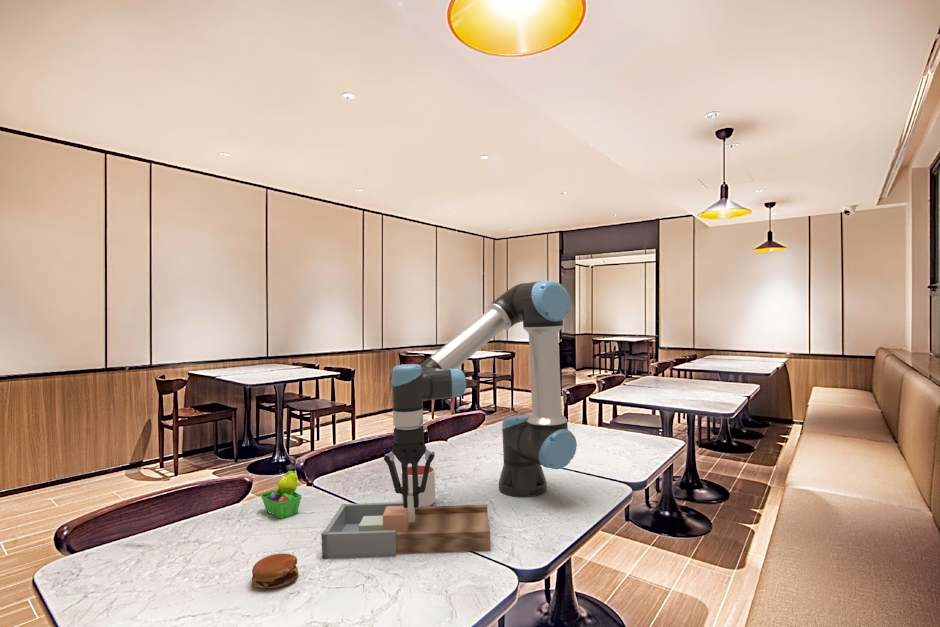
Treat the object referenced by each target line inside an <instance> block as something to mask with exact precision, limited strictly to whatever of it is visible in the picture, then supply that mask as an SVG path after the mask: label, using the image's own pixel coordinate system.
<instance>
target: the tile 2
mask: <svg viewBox="0 0 940 627" xmlns="http://www.w3.org/2000/svg"><path fill="white" fill-rule="evenodd" d="M409 524H410V522H408V508H404V506H387V507H386V509H385V511H384V514H383V530H396V531H408V528H409Z"/></svg>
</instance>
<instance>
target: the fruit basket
mask: <svg viewBox="0 0 940 627" xmlns="http://www.w3.org/2000/svg"><path fill="white" fill-rule="evenodd" d="M298 477H299V476H298V475H297V472H296V471H293V470H288V471H287V472H286V474H285V475H284V476H283V477H281V479H279V480H278V482H277V487H278V489H273V491H269V492H265V493H262V494H260V497H261V498H260V499H262V502H263V505H264V507H265V508H264V509H265V511H266V510H267V511H269V512H271V513H273V514H274V515H276V516H278V517H279V518H278V517H277V518H278V519H280V518H282V519H285V518H288V517H291V516H293V515H297V514H298V512H299V507H300V503H301V500H302V497H303V495H302V494H299V493H298V492H296V490H297V489H298V479H299V478H298ZM296 513H297V514H296ZM274 515H273V516H274ZM290 515H291V516H290ZM276 516H275V517H276ZM287 516H288V517H287ZM284 517H285V518H284Z"/></svg>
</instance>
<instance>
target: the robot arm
mask: <svg viewBox="0 0 940 627" xmlns="http://www.w3.org/2000/svg"><path fill="white" fill-rule="evenodd" d="M570 310H571V298H570V295H569V292H568V291H567V289H566V288H565V287H564V286H563V284H561V283H559V282H557V281H555V280H539V281H538V280H537V281H532V282H522V283H518V284H516V285H514V286H512V287H510V288H509V289H507V290H506V291H505V292H504V293H502V294H501V295H499V297H497V298H496V299H495V300H493V301H492V302H491V303H490V304H488V306H487V310H486V311H485V312H484V313H482V314H481V315H480V316H479V317H478V318H477V319H475V320H474V321H473V322H472V323H470V324H469V325H468V326H467V327H465V328H464V329H463V330H462V331H460V332H459V333H458V334H456V336H454V337H453V338H452V339H450V340H449V341H448V342H446V343H445V344H444V345H443V346H442V347H441V348H439V349H438V350H437V351H435V353H433V354H432V355H431V356H430V357H428V358H426V359H425V360H424V361H423V362H421V363H420V364H417V363H410V364H409V363H408V364H397V365H395V366H393V368H392V370H391V371H392V372H391V391H392V392H391V393H392V421H393V422H392V423H393V426H394V428H393V443H394V444H393V447H392V449H391V451H390V452H389V453H387V452H386V453H385V454H384V456H383V460H384V462H385V463H386V464H387V466H388V470H389V473H390V477H391V482H392V485H393V488H394V491H395V493H396V494H402V495H403V506H404V508H408V522H414V520H415V508H417V507H418V505H419V493H423V492H424V491H425V488H426V483H427V478H428V474H429V469H430V467H431V464H432V462H433V460H434V459H435V457H436V453H435V452H434V451H431V450H428V449H427V446H426V444H425V434H424V433H425V431H424V430H425V429H424V426H423V424H424V402H425V401H426V402H427V401H432V400H433V401H435V400H441V399H449V398H451V399H453V398H456V397H462V395H464V394H465V392H466V389H467V379H466V376H465V373H464V372H463V370H462V369H460V368H459V367H460V366H461V365H463V364H464V363H465V362H466V361H467V360H468V359H469V358H471V357H472V356H473V355H474V354H475V353H477V352H478V351H479V350H480V349H482V348H483V347H484V346H485V345H486V344H487V343H489V342H490V341H491V340H492V339H494V338H495V337H496V336H497V335H499V334H500V333H501V332H502V331H503V330H507V331H508V330H509V329H510V328H512V327H513V326H515V325H516V324H519V323H522V325H523V326H522V328H523V329H524V331H526V332H527V333H528V347H529V370H530V392H531V413H532V414H518V415H513V416H507V417H505V418H504V419H502V427H501V431H502V449H503V450H502V453H503V454H502V456H503V466H502V469H501V473H500V476H499V480H498V490H499V492H501V493H502V494H504V495H506V496H507V495H508V496H511V497H521V498H522V497H525V498H526V497H535V496H539V495H542V494H544V493H546V491H547V490H548V486H547V485H548V482H547V479H546V476H545V474H544V470H543V468H542V467H544V468H547V469H551V470H559V469H563V468H565V467H567V466H568V465H569V464H570V463H571V461H572V460H573V459H574V457H575V455H576V452H577V438H576V436H575V435H574V433H573V432H572V431H571V430H569V429H568V428H569V427H568V426H569V424H568V419H567V418H566V416H564V415H563V413H562V410H563V409H562V391H561V368H560V366H561V365H560V363H561V362H560V347H559V344H560V343H559V342H560V341H559V332H560V331H561V329H563V327H564V319H565V318H566V317H567V316H568V313H570ZM423 456H425V457H424V459H425V461H426V462H425V464H424V466H425V468H424V473H423V478H422V483H421V486H420V487H419V484H418V466H419V462H420V460H421V459H422V457H423ZM395 458H396V459H397V460H398V461H399V462H400V463H401V470H402V487H401V479H400V478H399V474H398V469H397V467H396V463H395ZM409 465H411V466H412V480H413V492H409V493H408V491H409V487H408V467H409Z"/></svg>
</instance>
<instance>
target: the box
mask: <svg viewBox="0 0 940 627" xmlns="http://www.w3.org/2000/svg"><path fill="white" fill-rule="evenodd" d="M387 506H403V502H402V501H397V502H394V501H393V502H390V501H389V502H366V503H365V502H362V503H359V502H358V503H342V504H341V505H340V506H339V507H338V510H337V511H336V512H335V514H334V515H333V517H332V519H331V520H330V521H329V523H328V524H327V526H326V527H325V529H324V530H323V532H322V533H321V558H322V559H334V558H335V559H337V558H341V559H343V558H370V557H371V558H372V557H397V555H398V554H397V545H396V534H397V532H399V531H396V530H383V531H359V524H360V522H361V520H362V518H363V517H364V516H383V514H384V511H385V509H386V507H387Z"/></svg>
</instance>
